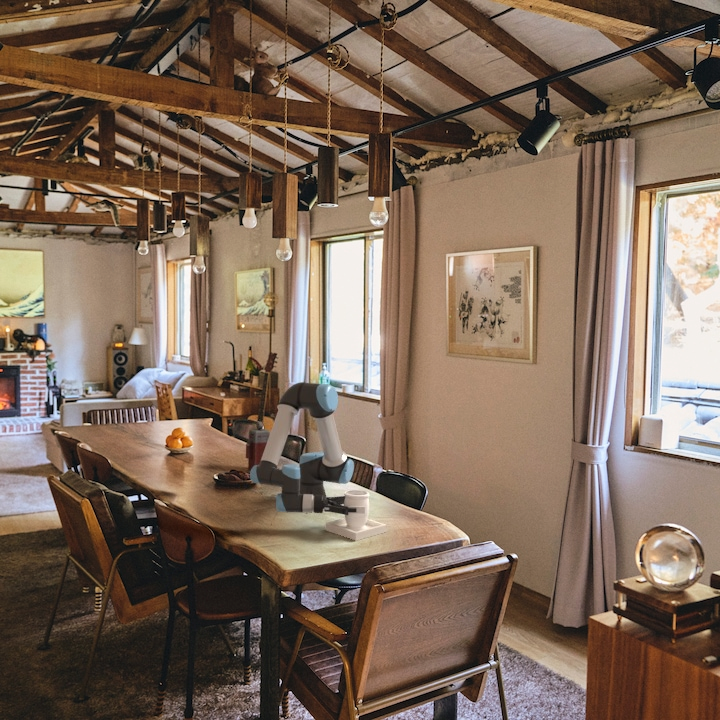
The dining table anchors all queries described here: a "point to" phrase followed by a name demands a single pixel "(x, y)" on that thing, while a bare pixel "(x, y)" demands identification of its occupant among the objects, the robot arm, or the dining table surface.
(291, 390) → the robot arm
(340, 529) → the white square tray
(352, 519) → the jar
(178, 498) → the dining table surface
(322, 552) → the dining table surface
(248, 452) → the toy vending machine
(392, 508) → the dining table surface
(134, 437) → the dining table surface
